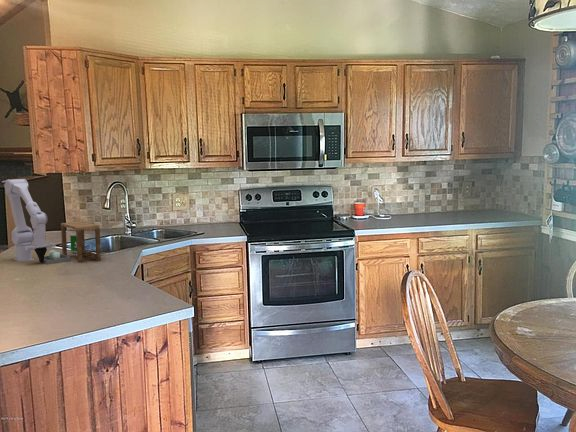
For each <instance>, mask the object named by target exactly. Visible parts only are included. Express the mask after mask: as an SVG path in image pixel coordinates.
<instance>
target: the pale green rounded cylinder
mask: <svg viewBox="0 0 576 432" xmlns="http://www.w3.org/2000/svg"><path fill="white" fill-rule="evenodd" d="M53 252H57V250H54V249H53V250H52V249H51V250H49V251H48V256H49V260H53Z"/></svg>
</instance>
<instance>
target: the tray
mask: <svg viewBox="0 0 576 432" xmlns="http://www.w3.org/2000/svg"><path fill="white" fill-rule="evenodd" d="M67 262H72V260H71V256H69V255H67V256H66V255H63V254H62V253H60V259H53V260H49V255H45V256H44V260H43V262H42V263H43V264H46V265H53V264H59V263H60V264H61V263H67Z"/></svg>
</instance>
